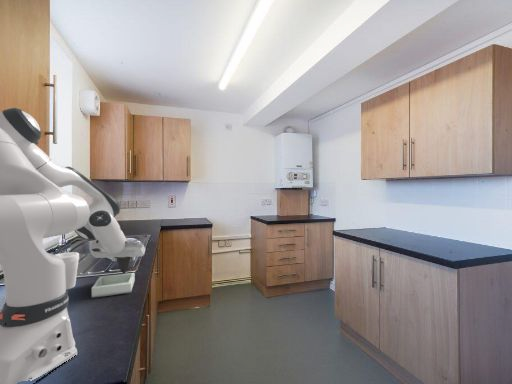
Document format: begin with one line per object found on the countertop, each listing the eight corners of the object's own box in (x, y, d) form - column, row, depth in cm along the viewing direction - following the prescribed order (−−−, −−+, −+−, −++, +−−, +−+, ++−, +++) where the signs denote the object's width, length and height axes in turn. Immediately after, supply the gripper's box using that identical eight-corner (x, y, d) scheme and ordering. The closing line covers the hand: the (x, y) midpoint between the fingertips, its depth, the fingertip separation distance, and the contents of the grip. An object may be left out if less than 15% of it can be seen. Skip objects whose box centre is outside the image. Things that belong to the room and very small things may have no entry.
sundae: (135, 276, 118) (135, 243, 117) (124, 282, 111) (123, 246, 111) (123, 275, 119) (123, 242, 119) (111, 280, 113) (111, 245, 113)
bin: (130, 292, 100) (130, 283, 100) (91, 297, 96) (91, 288, 96) (134, 280, 112) (134, 272, 112) (100, 284, 108) (100, 276, 108)
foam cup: (65, 292, 101) (64, 259, 100) (44, 291, 102) (43, 258, 102) (85, 283, 110) (84, 252, 110) (65, 282, 111) (65, 251, 111)
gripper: (142, 234, 109) (150, 252, 119) (90, 236, 107) (102, 253, 117) (139, 248, 105) (147, 264, 115) (84, 249, 103) (97, 266, 113)
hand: (124, 259), depth 116 cm, fingers closed on sundae, 6 cm apart
